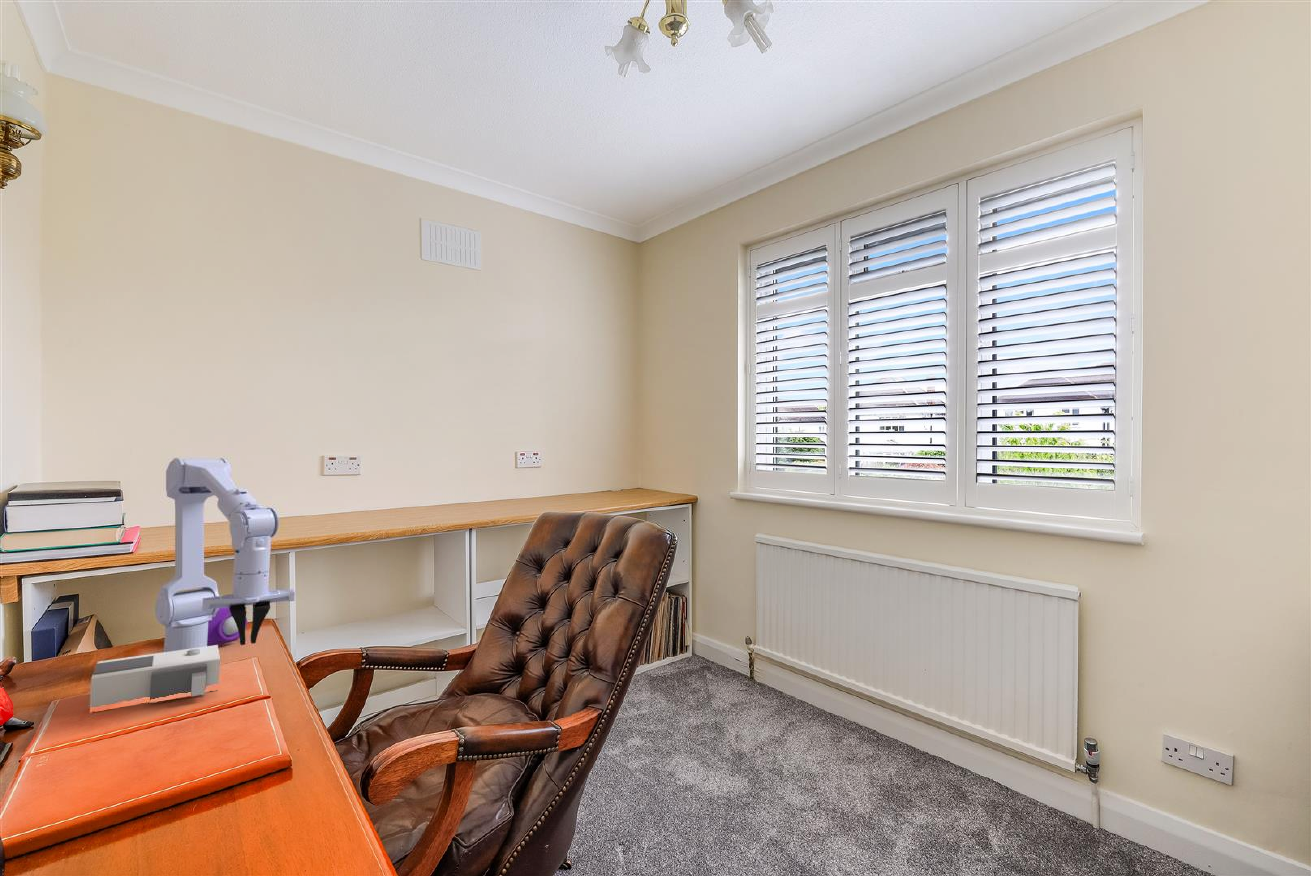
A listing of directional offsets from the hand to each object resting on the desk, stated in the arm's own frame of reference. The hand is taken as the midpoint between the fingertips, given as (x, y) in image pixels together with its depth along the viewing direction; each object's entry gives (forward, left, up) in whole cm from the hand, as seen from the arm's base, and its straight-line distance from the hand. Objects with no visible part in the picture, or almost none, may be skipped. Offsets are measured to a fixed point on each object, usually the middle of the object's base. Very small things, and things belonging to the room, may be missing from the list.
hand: (247, 642), depth 113 cm
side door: (-1, -10, -9) cm, 14 cm away
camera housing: (-9, -13, -9) cm, 18 cm away
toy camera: (-38, -3, -10) cm, 39 cm away
